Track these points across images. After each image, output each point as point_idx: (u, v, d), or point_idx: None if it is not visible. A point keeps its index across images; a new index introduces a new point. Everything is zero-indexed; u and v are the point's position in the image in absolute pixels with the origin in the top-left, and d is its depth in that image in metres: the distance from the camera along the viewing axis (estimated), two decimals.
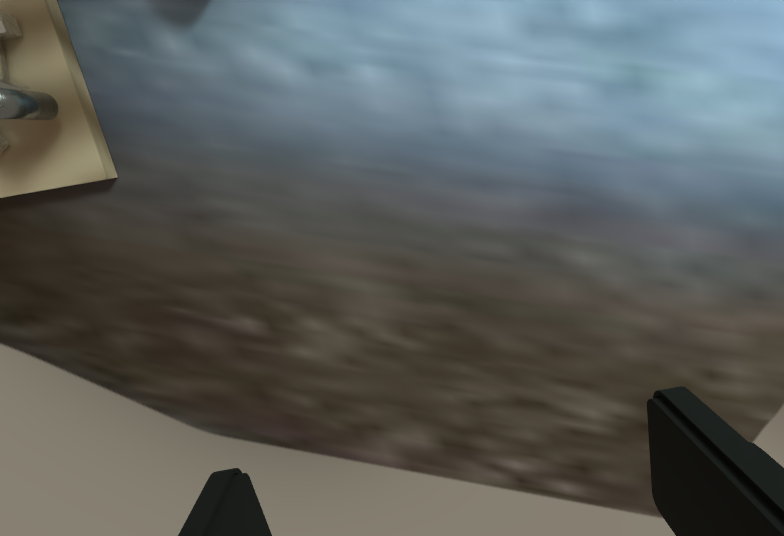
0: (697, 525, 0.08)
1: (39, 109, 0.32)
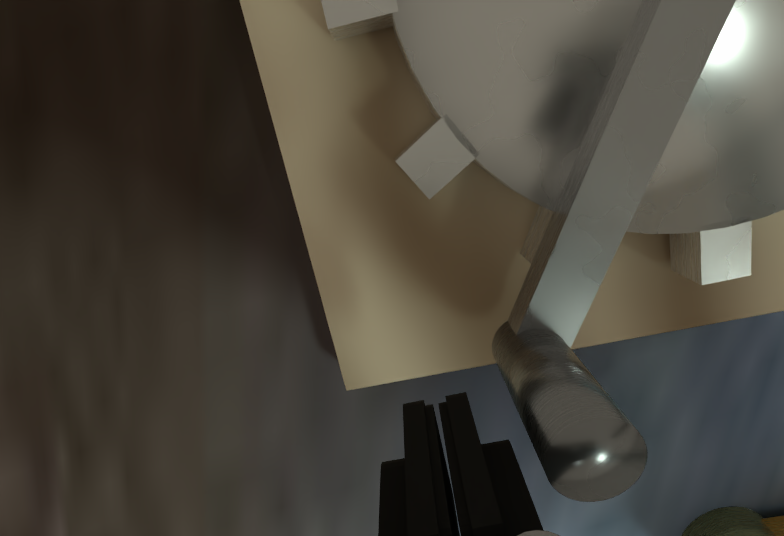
0: None
1: None
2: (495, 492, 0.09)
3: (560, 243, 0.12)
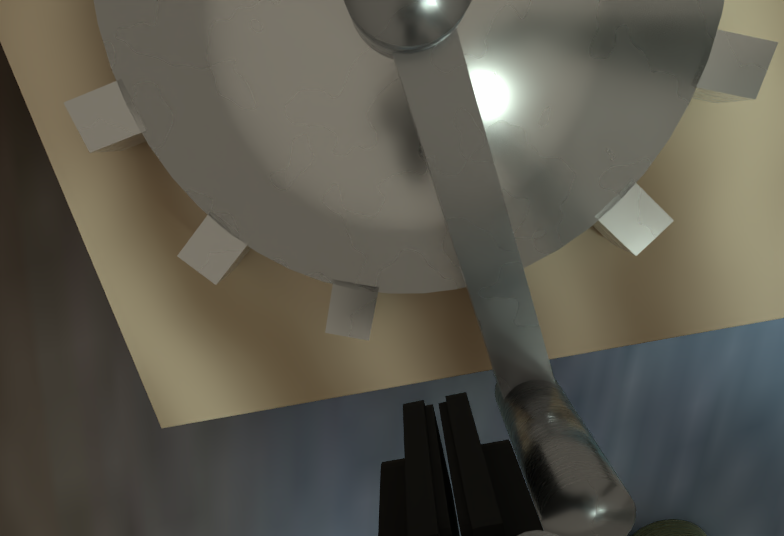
0: None
1: None
2: (495, 492, 0.09)
3: (481, 317, 0.13)
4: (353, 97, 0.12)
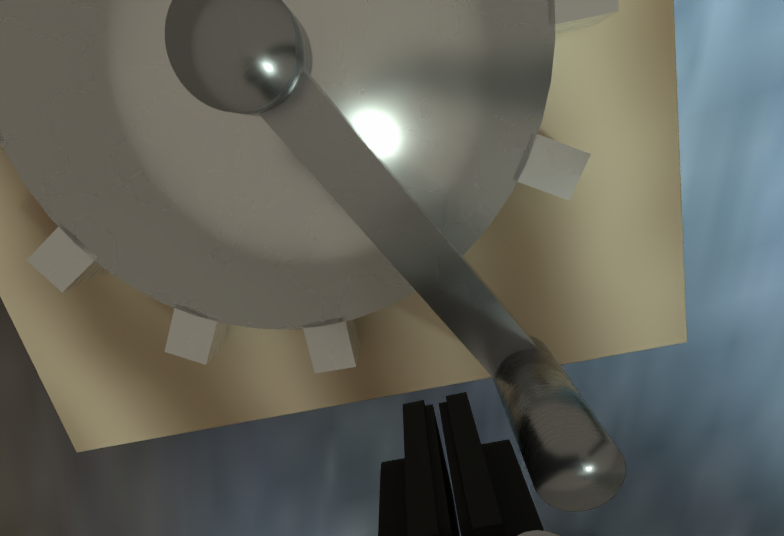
0: None
1: None
2: (495, 492, 0.09)
3: (440, 312, 0.13)
4: (250, 162, 0.13)
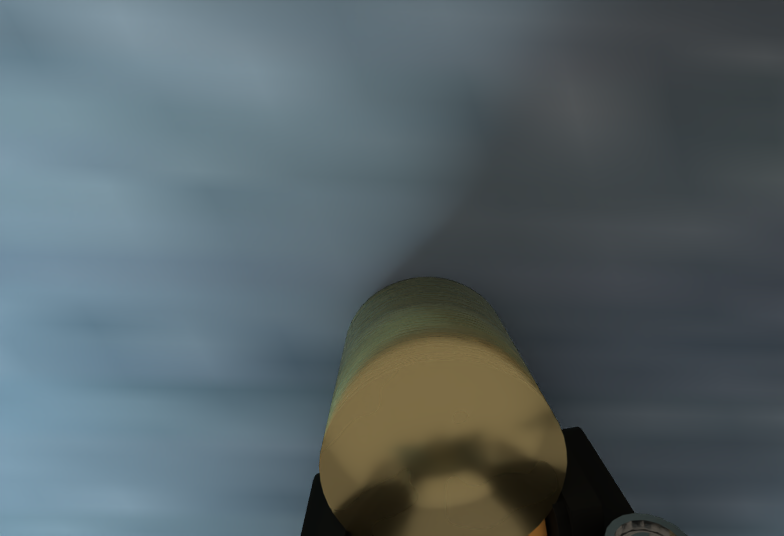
0: None
1: None
2: None
3: None
4: None
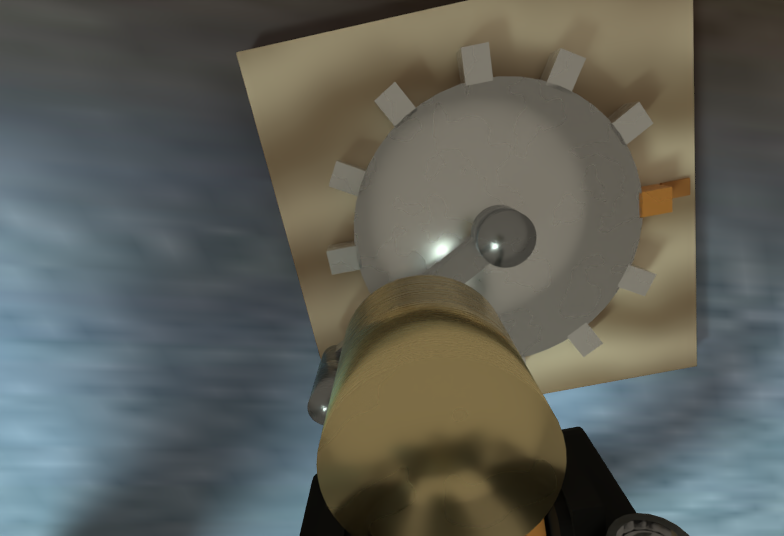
0: None
1: None
2: None
3: None
4: (448, 224, 0.24)
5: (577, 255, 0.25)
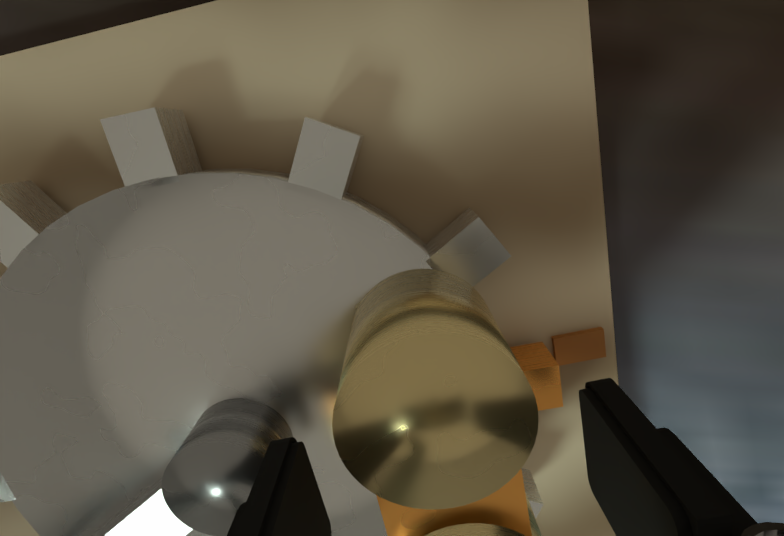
0: (616, 503, 0.09)
1: None
2: None
3: None
4: (151, 430, 0.13)
5: None
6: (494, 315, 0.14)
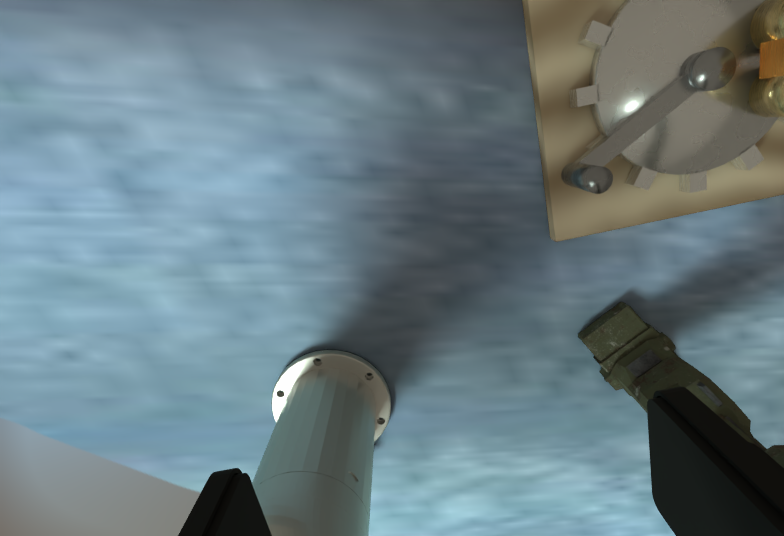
0: (697, 524, 0.08)
1: (572, 185, 0.36)
2: None
3: (608, 140, 0.36)
4: (664, 67, 0.35)
5: None
6: None
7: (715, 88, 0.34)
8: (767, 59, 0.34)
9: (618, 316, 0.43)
